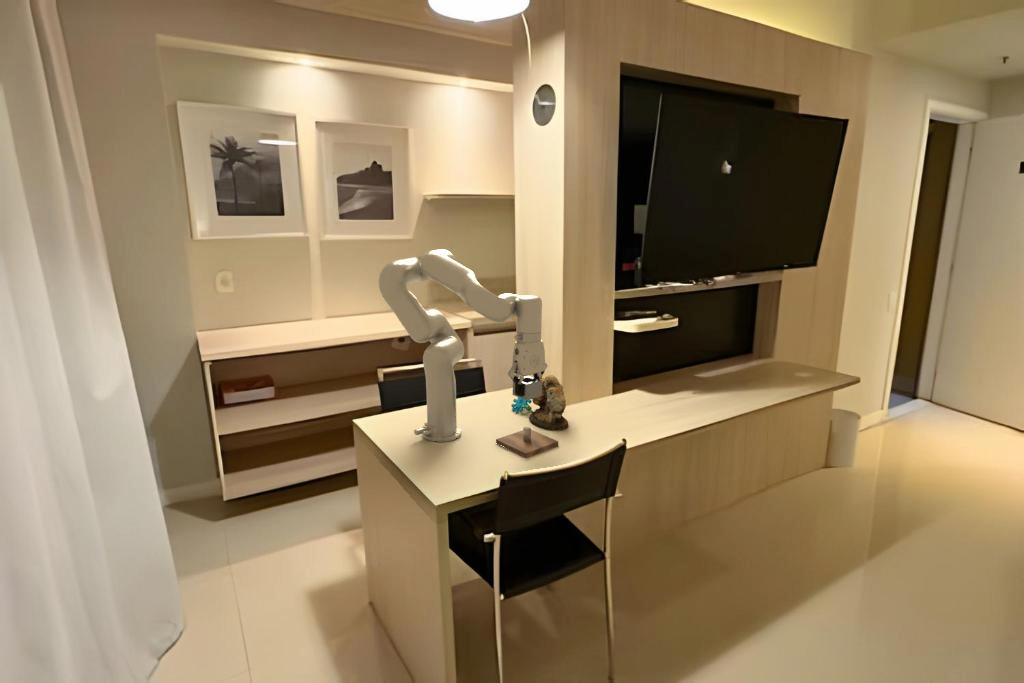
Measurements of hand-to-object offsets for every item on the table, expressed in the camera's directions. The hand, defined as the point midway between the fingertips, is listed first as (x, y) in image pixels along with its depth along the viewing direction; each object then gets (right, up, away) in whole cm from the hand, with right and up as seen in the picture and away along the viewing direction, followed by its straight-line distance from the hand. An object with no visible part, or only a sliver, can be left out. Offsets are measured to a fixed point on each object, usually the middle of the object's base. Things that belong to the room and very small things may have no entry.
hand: (527, 392), depth 172 cm
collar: (0, -1, 0) cm, 1 cm away
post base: (0, -17, +4) cm, 17 cm away
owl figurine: (+8, -13, +23) cm, 28 cm away
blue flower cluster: (-1, -10, +34) cm, 35 cm away
